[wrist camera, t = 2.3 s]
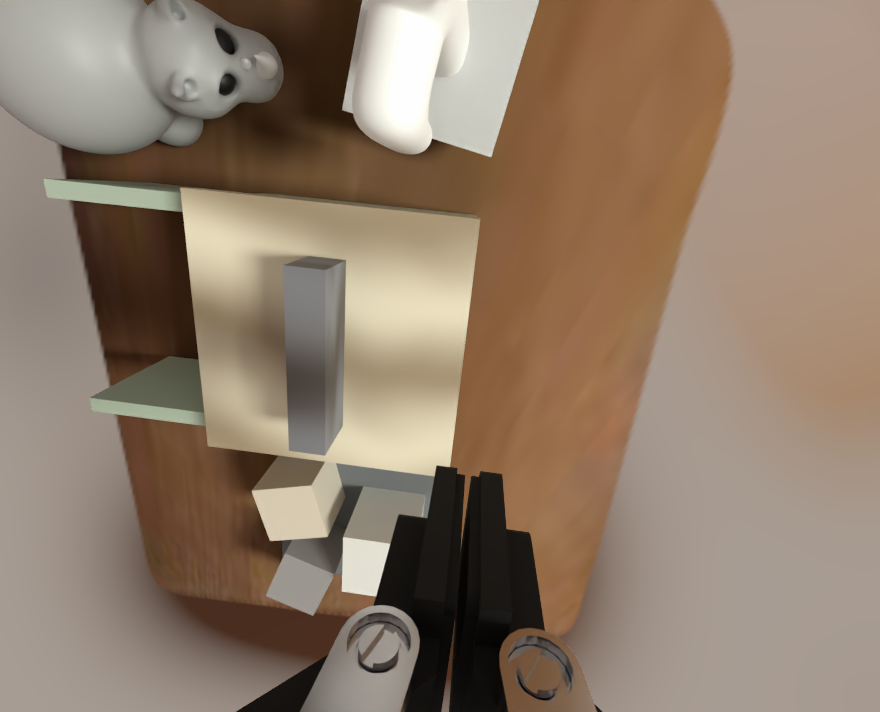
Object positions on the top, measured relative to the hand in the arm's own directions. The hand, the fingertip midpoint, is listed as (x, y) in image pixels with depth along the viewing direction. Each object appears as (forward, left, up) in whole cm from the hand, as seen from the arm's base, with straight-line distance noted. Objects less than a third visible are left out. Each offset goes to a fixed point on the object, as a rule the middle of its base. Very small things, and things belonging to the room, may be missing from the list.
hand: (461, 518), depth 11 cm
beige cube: (+12, -10, -17) cm, 23 cm away
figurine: (-14, -3, -17) cm, 22 cm away
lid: (-1, -7, -10) cm, 12 cm away
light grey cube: (+18, -10, -17) cm, 27 cm away
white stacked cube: (+15, -4, -17) cm, 23 cm away
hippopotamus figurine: (-12, -16, -17) cm, 26 cm away
